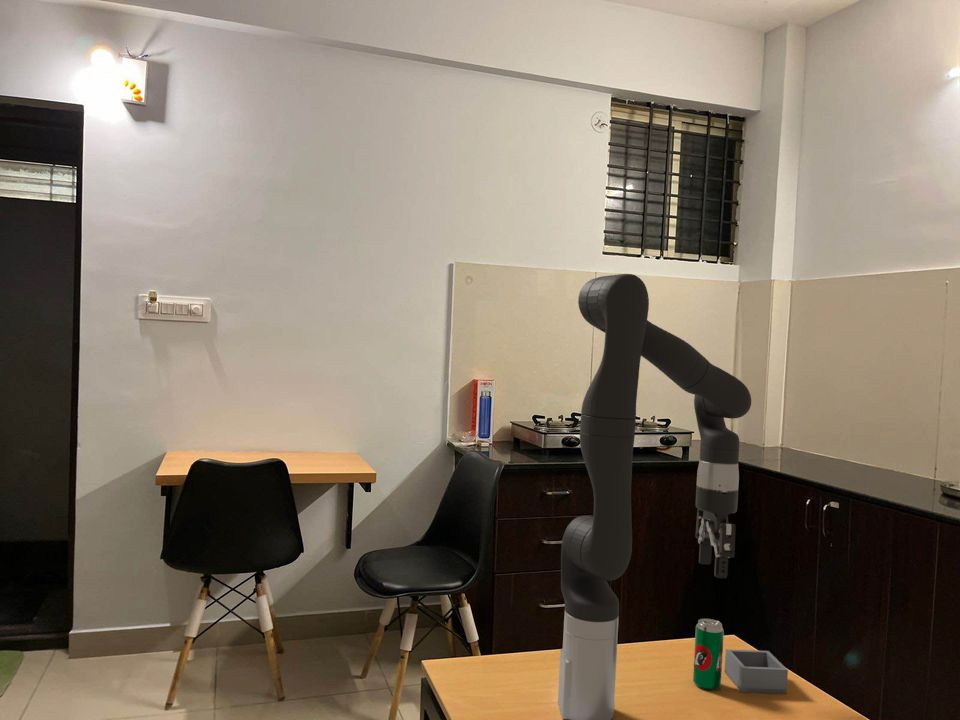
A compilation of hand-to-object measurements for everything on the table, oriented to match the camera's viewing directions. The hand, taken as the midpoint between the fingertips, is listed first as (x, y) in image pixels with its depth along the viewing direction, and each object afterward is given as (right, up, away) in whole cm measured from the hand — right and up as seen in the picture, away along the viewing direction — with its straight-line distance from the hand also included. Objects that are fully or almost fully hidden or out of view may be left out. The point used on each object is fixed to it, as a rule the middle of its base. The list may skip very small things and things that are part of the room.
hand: (712, 570), depth 137 cm
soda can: (-1, -22, 0) cm, 22 cm away
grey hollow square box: (+9, -22, +2) cm, 24 cm away
